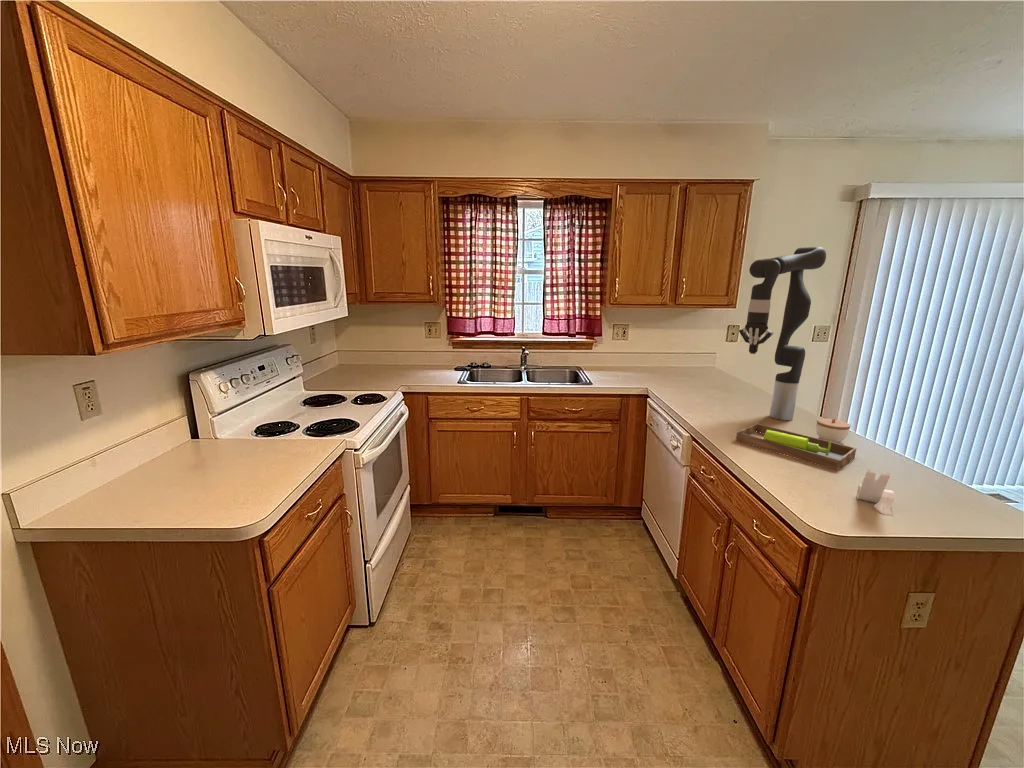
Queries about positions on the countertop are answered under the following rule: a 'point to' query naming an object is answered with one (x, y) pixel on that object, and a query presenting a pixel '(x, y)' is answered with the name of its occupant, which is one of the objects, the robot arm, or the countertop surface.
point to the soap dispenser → (795, 442)
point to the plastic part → (876, 492)
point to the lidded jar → (832, 429)
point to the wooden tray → (834, 460)
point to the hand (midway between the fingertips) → (752, 353)
